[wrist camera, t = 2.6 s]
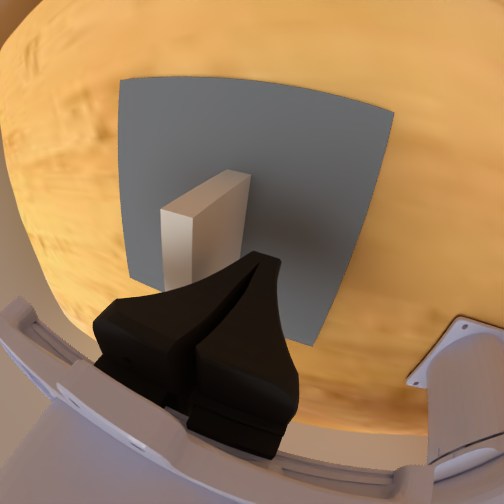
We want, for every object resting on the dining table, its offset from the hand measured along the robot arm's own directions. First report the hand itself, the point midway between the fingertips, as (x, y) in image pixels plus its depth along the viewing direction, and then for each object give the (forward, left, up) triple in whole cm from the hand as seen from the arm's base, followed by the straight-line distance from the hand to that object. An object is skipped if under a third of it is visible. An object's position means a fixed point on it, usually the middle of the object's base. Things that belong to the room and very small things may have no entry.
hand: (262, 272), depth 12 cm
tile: (+3, 0, -4) cm, 5 cm away
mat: (+4, 0, -5) cm, 6 cm away
